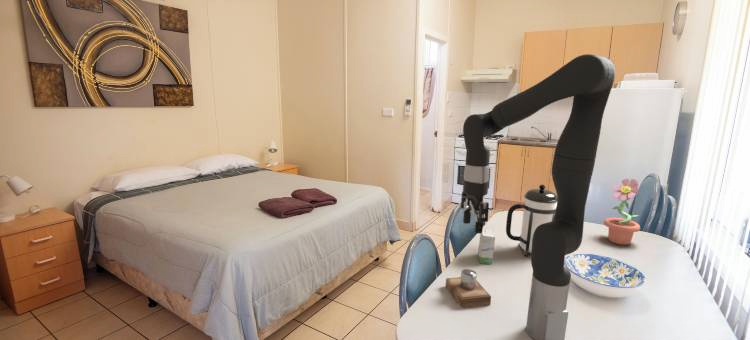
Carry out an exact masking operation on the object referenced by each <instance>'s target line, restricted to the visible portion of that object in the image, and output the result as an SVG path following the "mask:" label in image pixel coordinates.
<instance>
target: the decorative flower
mask: <svg viewBox="0 0 750 340" xmlns="http://www.w3.org/2000/svg"><path fill="white" fill-rule="evenodd" d="M621 183H622V184H621V185H618V184H616V185H614V186H613V192H615V193H613V197H614V198H615V199H618V201H621V202H620V204H619V206H618V205H616V206H613V207H612V208H611V209H612V210H617V213H618V214H619V215H620V216H621V217H608V218H606V219H604V221H603V224H604V226H605V227H607V228H608V240H609V241H610V242H612V243H614V244H617V245H622V246H623V245H624V246H626V245H630V244H631V242H632V240H633V235H634V233H635V232H636V233H637V232H639V231H641V225H640V224H638V222H635V221H633V220H632V218H635V217H638V216H640V215H639V214H633V215H631V214H629V213H627V212H625V211H623V209H624V207H626V208H627V210H630V209H629V207H630V206H629V203H628V201H629V200H631V199H633V198H634V197H635V196H637V193H638V192H639V189H640V185H639V181H638V180H636V179H635V178H632V179H630V178H623V179H622V180H621ZM622 217H624V218H622Z"/></svg>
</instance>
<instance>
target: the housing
mask: <svg viewBox="0 0 750 340" xmlns="http://www.w3.org/2000/svg"><path fill="white" fill-rule="evenodd" d="M460 277H461V281H460V287H461V288H462V289H464V290H468V291H472V290H475V288H476V280H477V277H478V273H477V271H475V270H474V269H468V268H466V269H462V270H461V271H460Z"/></svg>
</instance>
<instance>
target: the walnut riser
mask: <svg viewBox="0 0 750 340" xmlns="http://www.w3.org/2000/svg"><path fill="white" fill-rule="evenodd" d="M460 281H461V276H459V277H449V278H445V287H446V289H447V290H448V292H449V293H450V294H451V296H452V297H453V299H454V300H455V302H456V303H457V304H458V306H459V307H460V309H461V308H463V309H464V308H473V307H481V306H482V307H483V306H491V301H492V300H491V299H492V296H491V294H490V293H489V292H488V291H487V290H486V289H485V288H484V287H483V286H482V284H480V282H478V280H477V279H476V288H475V290H472V291H468V290H464V289H462V288H461V287H460Z"/></svg>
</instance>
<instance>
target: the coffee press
mask: <svg viewBox="0 0 750 340" xmlns="http://www.w3.org/2000/svg"><path fill="white" fill-rule="evenodd" d="M523 197H524V203H523V204H521V203H516V204H513V205H511V206H510V207H509V209H508V211H507V215H506V224H505V232H506V235H507V237H508V238H509V239H510V240H512V241H517V242H519V243H518V244H517V246H518V248H521V249H523V250H524V252H523V256H524V257H529V255H530V254H531V252H532V239H533V234H534V231H535V229H536V228H537V227H538V226H539V225H541V224H544V223H548V222H551V221H553V219H554V216H555V212H556V207H557V193H556V192H553V191H551V190H548V189H546V186H545V184H540V185H539V186H538V188H531V189H528V190H527V191H526V193H525V194H524V196H523ZM518 209H523V214H522V221H521V222H522V223H521V233H520V235H519V236H516V235H513V234H512V233H511V230H512V220H513V219H512V218H513V213H514V212H515V210H518Z"/></svg>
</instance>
